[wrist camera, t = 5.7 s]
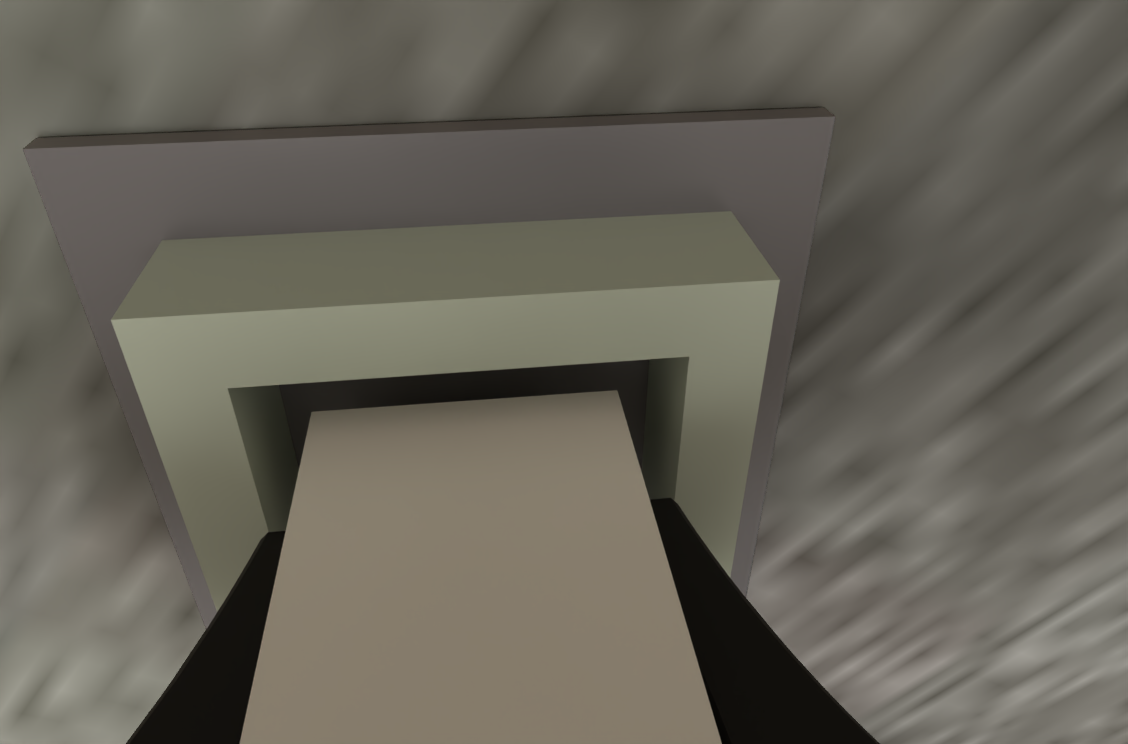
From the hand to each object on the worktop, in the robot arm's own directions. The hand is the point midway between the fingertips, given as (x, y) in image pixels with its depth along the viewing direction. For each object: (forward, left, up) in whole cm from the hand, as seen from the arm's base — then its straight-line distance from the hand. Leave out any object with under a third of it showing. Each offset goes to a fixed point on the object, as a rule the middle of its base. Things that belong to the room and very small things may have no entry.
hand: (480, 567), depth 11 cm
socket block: (0, 0, -3) cm, 3 cm away
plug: (0, 0, -2) cm, 2 cm away
